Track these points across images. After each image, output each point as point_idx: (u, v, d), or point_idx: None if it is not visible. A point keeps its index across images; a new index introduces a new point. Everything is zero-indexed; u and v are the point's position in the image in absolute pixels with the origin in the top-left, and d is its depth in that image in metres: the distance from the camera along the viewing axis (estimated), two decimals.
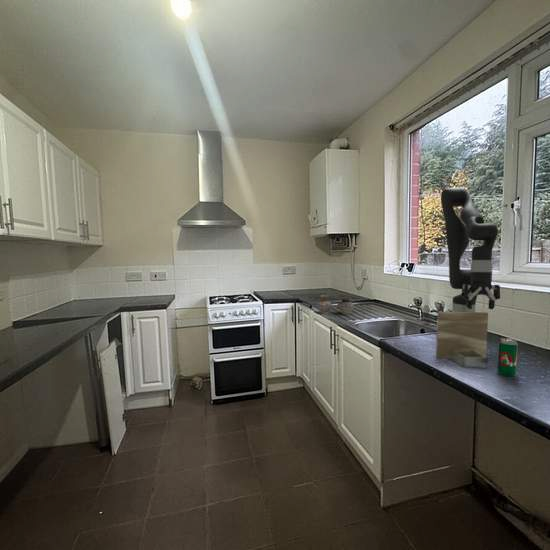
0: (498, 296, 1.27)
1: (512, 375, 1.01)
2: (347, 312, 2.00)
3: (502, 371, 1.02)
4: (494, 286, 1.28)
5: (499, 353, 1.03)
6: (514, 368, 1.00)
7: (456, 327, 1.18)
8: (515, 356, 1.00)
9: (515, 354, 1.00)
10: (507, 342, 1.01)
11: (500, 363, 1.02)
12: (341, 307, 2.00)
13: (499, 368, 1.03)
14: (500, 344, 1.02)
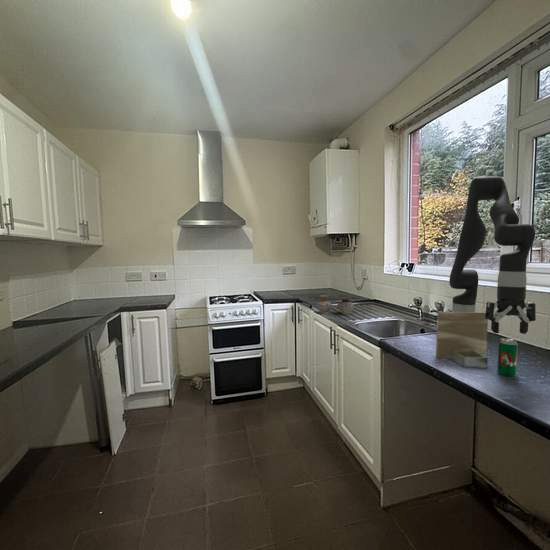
0: (533, 317, 1.00)
1: (512, 375, 1.01)
2: (347, 312, 2.00)
3: (502, 371, 1.02)
4: (528, 304, 1.00)
5: (499, 353, 1.03)
6: (514, 368, 1.00)
7: (456, 327, 1.18)
8: (515, 356, 1.00)
9: (515, 354, 1.00)
10: (507, 342, 1.01)
11: (500, 363, 1.02)
12: (341, 307, 2.00)
13: (499, 368, 1.03)
14: (500, 344, 1.02)
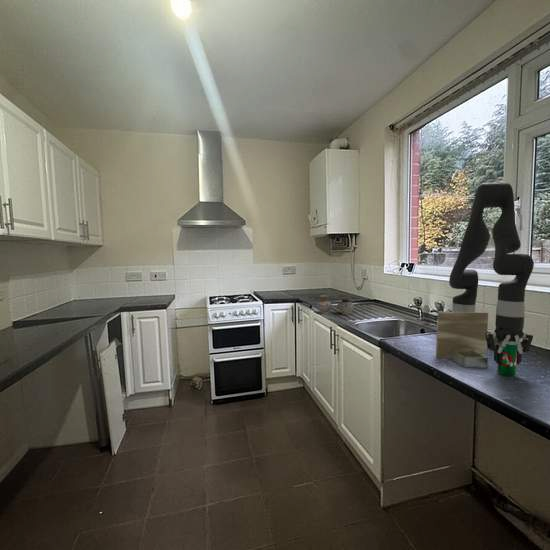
0: (526, 349, 1.01)
1: (512, 375, 1.01)
2: (347, 312, 2.00)
3: (502, 371, 1.02)
4: (526, 335, 1.01)
5: None
6: (514, 368, 1.00)
7: (456, 327, 1.18)
8: (515, 356, 1.00)
9: (515, 354, 1.00)
10: (507, 342, 1.01)
11: None
12: (341, 307, 2.00)
13: (499, 368, 1.03)
14: None
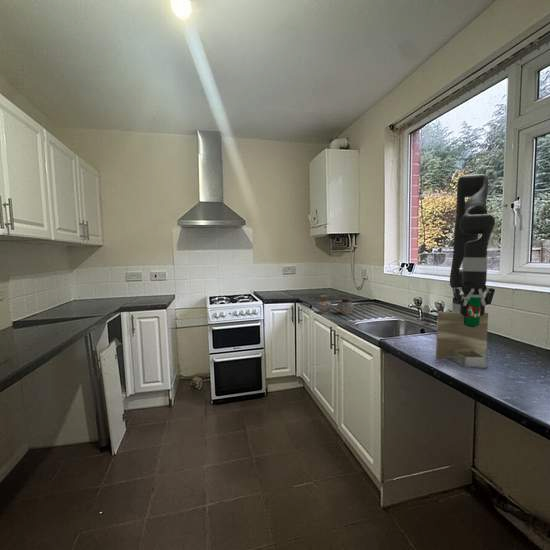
0: (489, 301, 1.10)
1: (476, 325, 1.10)
2: (347, 312, 2.00)
3: (468, 322, 1.11)
4: (488, 289, 1.11)
5: None
6: (478, 319, 1.10)
7: (456, 327, 1.18)
8: (479, 308, 1.10)
9: (479, 306, 1.10)
10: (472, 295, 1.10)
11: None
12: (341, 307, 2.00)
13: (465, 320, 1.12)
14: None
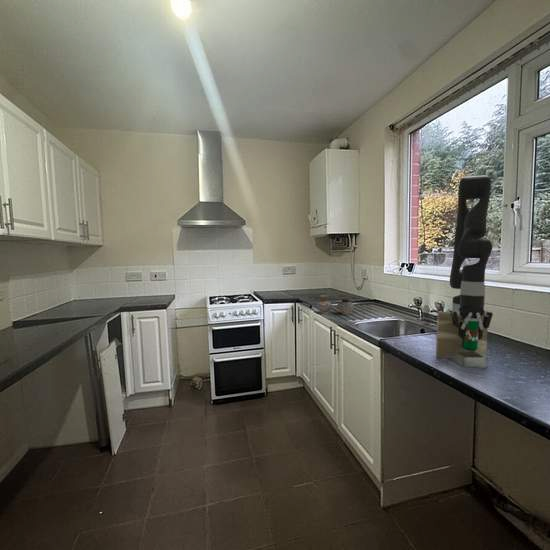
0: (487, 325, 1.11)
1: (474, 349, 1.11)
2: (347, 312, 2.00)
3: (466, 346, 1.12)
4: (486, 313, 1.11)
5: None
6: (476, 342, 1.11)
7: (456, 327, 1.18)
8: (477, 331, 1.10)
9: (476, 330, 1.10)
10: (469, 319, 1.11)
11: (463, 339, 1.13)
12: (341, 307, 2.00)
13: (463, 343, 1.13)
14: None
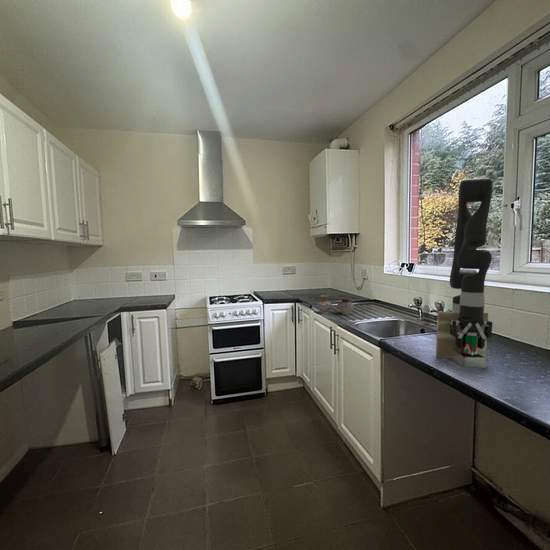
0: (489, 334, 1.11)
1: None
2: (347, 312, 2.00)
3: None
4: (486, 322, 1.12)
5: (462, 343, 1.14)
6: None
7: (456, 327, 1.18)
8: (476, 346, 1.11)
9: (476, 344, 1.11)
10: (469, 333, 1.11)
11: (463, 353, 1.13)
12: (341, 307, 2.00)
13: None
14: (463, 335, 1.13)
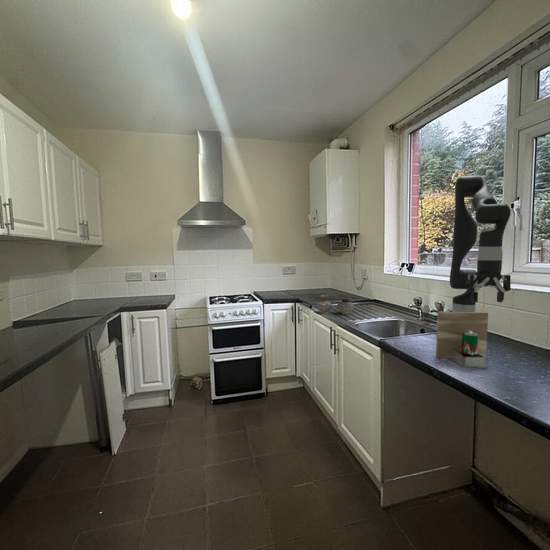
0: (508, 287, 1.12)
1: None
2: (347, 312, 2.00)
3: None
4: (504, 276, 1.13)
5: (462, 343, 1.14)
6: None
7: (456, 327, 1.18)
8: (476, 346, 1.11)
9: (476, 344, 1.11)
10: (469, 333, 1.11)
11: (463, 353, 1.13)
12: (341, 307, 2.00)
13: None
14: (463, 335, 1.13)
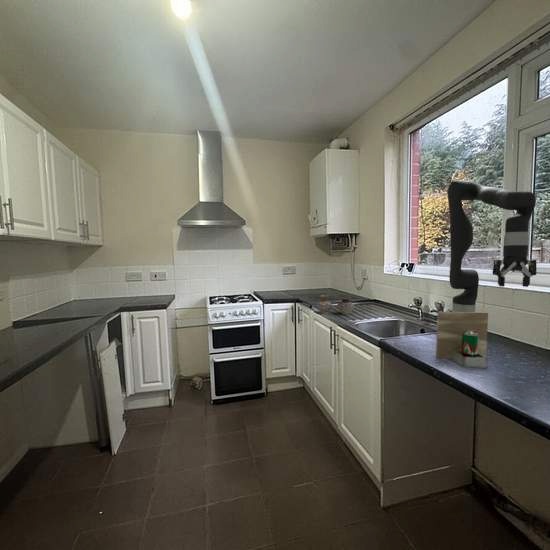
0: (534, 272, 1.15)
1: None
2: (347, 312, 2.00)
3: None
4: (530, 261, 1.16)
5: (462, 343, 1.14)
6: None
7: (456, 327, 1.18)
8: (476, 346, 1.11)
9: (476, 344, 1.11)
10: (469, 333, 1.11)
11: (463, 353, 1.13)
12: (341, 307, 2.00)
13: None
14: (463, 335, 1.13)
